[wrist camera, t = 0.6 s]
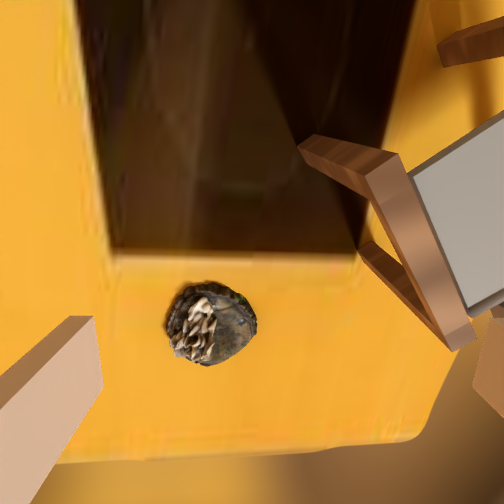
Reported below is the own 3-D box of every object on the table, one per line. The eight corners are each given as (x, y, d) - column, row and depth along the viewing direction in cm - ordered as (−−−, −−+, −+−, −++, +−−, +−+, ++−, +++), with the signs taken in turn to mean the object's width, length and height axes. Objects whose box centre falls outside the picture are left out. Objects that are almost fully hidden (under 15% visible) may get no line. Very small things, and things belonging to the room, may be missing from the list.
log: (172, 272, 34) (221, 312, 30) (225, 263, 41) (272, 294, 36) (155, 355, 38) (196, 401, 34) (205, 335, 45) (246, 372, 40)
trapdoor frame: (296, 146, 30) (364, 176, 16) (457, 31, 27) (699, -49, 14) (363, 262, 36) (452, 352, 23) (498, 178, 33) (690, 224, 20)
